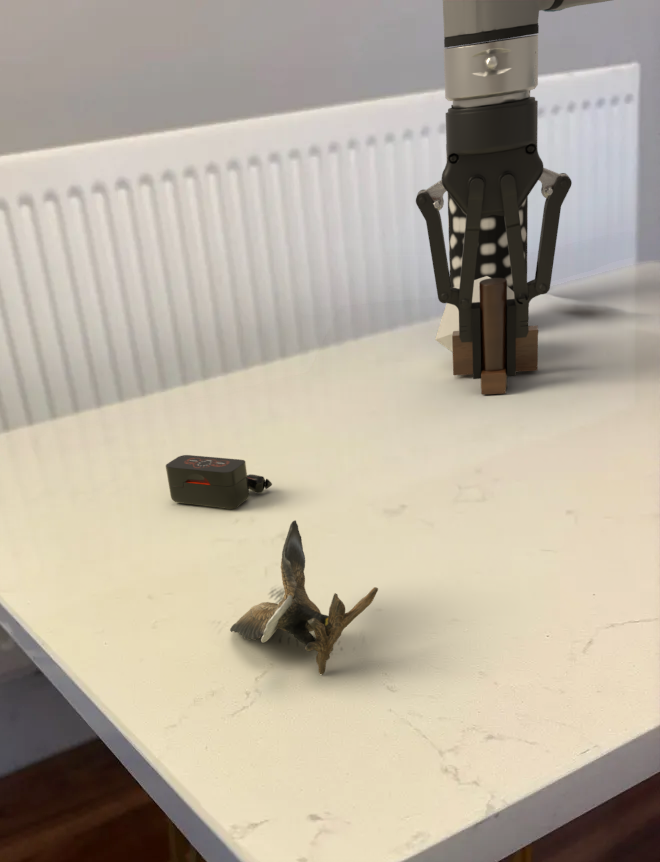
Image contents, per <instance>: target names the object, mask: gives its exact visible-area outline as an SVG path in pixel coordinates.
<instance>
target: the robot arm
mask: <svg viewBox="0 0 660 862" xmlns="http://www.w3.org/2000/svg"><path fill="white" fill-rule="evenodd" d="M611 1H613V0H442V17H443V38H444V39H443V47H444V48H443V65H444V66H443V67H444V69H443V70H444V74H443V75H444V98H445V99H446V100H447V101H448V102H452V104H451V106H450V107H449V108H448V109H447V112H445V142H446V144H445V148H446V147H447V158H446V163H445V166H444V169H443V171H442V173H441V179H440V180H439V181H437V182H436V183H434V184H432V185H431V186H430V187H428V188H426V189H421V190H419V191H418V192H417V194H416V198H415V204H416V206H417V207H418V210H419V212H420V213H421V215H422V217H423V219H424V220H425V225H426V229H427V230H426V231H427V235H428V236H427V237H428V242H429V250H430V256H431V262H432V269H433V274H434V279H435V280H434V281H435V287H436V293H437V299H438V301H439V302H440V303H442V304H447V303H449V304H452V305H455V306H456V307H457V308H458V311H459V338H460V340H461V342H462V343H463V342H472V353H473V374H472V380H481V328H480V302H473V303H472V297H473V287H474V278H475V268H476V258H477V248H478V239H479V230H480V221H481V218H485V217H487V216H490V215H498V216H504V219H505V226H506V234H507V242H508V250H509V258H510V266H511V274H512V281H513V289H514V299H507V378H509V377H516V375H517V374H516V373H517V372H516V338H524V337H527V334H528V332H529V326H530V325H529V323H530V321H529V318H530V316H529V315H530V314H529V311H530V308H529V307H530V302H531V301H532V300H533V299H534V298H537V297H538V296H540V295H546V294H548V293H549V291H550V289H551V283H552V277H553V269H554V268H553V267H554V263H555V262H554V261H555V256H556V255H555V254H556V246H557V239H558V232H559V225H560V218H561V210H562V205H563V203H564V202H565V199H566V198H567V195H568V193H569V191H570V189H571V188H572V185H573V184H572V183H573V182H572V179H571V178H570V176H569V175H568V174H567V173H566V172H560V173H558V172H556V171H554V170H551V169H548V168H547V167H544V162H543V160H542V158H541V157H540V154H539V151H538V119H539V118H538V112H539V111H538V110H539V109H538V107H539V106H538V104H539V101H538V100H537V99H536V97H535V96H531V91H534V90H535V89H536V88H537V87H538V85H539V29H540V28H539V18H540V17H539V15H540V11H542V12H545V13H547V12H548V13H554V12H560V11H562V10H565V9H568V8H573V7H579V6H585V5H592V4H599V3H605V2H611ZM538 182H540V183H541V189H540V192H541V196H542V197H543V198H544V199H545V201H544V205H543V212H542V219H541V220H542V221H541V228H540V235H539V243H538V252H537V257H536V259H537V260H536V267H535V275H534V278H533V279H531V280H529V281H528V275H527V276H526V268H525V260H524V251H523V243H522V235H521V226H520V217H519V208H520V207H521V206H522V204H523V202H524V201H525V199H526V198H527V196H528V197H529V196H530V194H531V192H532V191H533V189H534V188H535V186H536V185H537V183H538ZM447 192H448V193H449V194H450V196H451V197H452V198H453V199H454V201H455V202H456V203H457V204H458V206H459V207H460V208H461V210H462V211H463V212H464V213H465V214H466V224H465V235H464V245H463V255H462V266H461V276H460V287H459V289H458V288H454V287H451V281H450V267H449V262H448V255H447V249H446V243H445V236H444V235H445V234H444V229H443V221H442V217H441V212H440V211H441V210H442V208H443V207H444V205H445V204H444V203H445V200H444V194H445V193H447ZM448 193H447V194H448Z"/></svg>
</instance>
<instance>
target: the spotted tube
mask: <svg viewBox="0 0 660 862" xmlns="http://www.w3.org/2000/svg"><path fill="white" fill-rule="evenodd" d="M445 149H446V150H445V152H446V153H445V154H446V156H445V157H446V159H447V147H446V146H445ZM446 193H447V224H448V225H447V227H448V259H449V262H448V265H449V274H450V281H451V287H455V286H458V285H460V276H461V266H462V255H463V245H464V235H465V224H466V214H465V213H464V212H463V211H462V210H461V208H460V207H459V206H458V204H457V203H456V202H455V201H454V199H453V198H452V197H451V196H450V194H449V193H448V192H447V191H446ZM528 198H529V195H528V196H527V198H526V199H525V201H524V202H523V204H522V206H521V207H520V208H519V217H520V226H521V235H522V243H523V251H524V260H525V268H526V276H527V277H528V224H529V223H528V217H529V216H528V214H529V213H528V209H529V203H528V202H529V201H528ZM485 276H488V277H490V278H504V279H506V280H507V286H508V287H509V288H510V289H511V290H512V291H513V292H514V289H513V281H512V274H511V266H510V258H509V250H508V242H507V234H506V226H505V219H504V216H498V215H490V216H487V217H485V218H481V221H480V230H479V239H478V248H477V258H476V268H475V278H474V280H476V279H479V278H482V277H485Z"/></svg>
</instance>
